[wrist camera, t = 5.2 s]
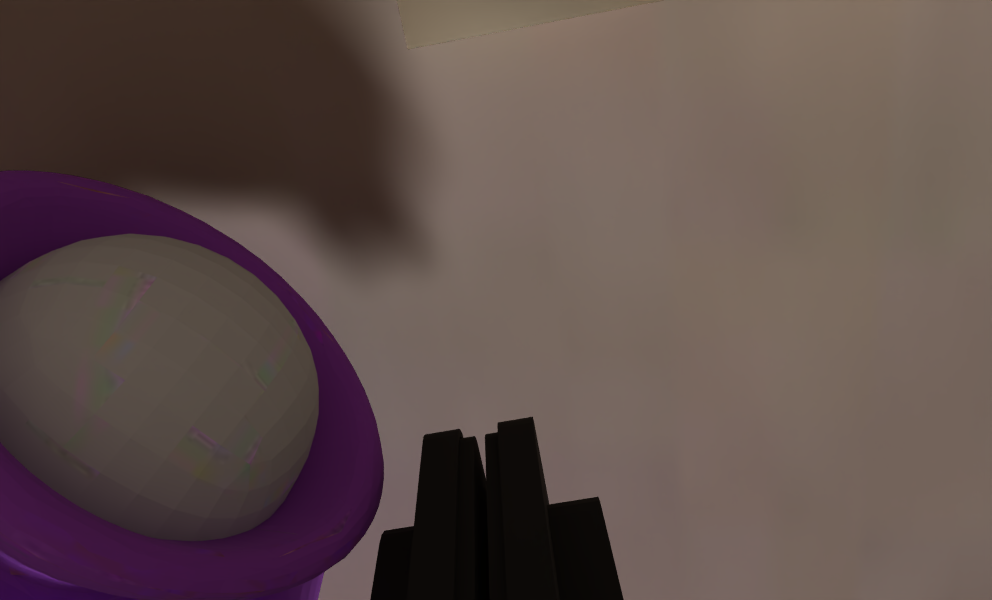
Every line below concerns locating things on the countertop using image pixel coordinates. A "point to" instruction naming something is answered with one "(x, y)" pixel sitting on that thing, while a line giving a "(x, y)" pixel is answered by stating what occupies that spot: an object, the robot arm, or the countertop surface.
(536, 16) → the mount
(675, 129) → the countertop surface
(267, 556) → the toy camera
